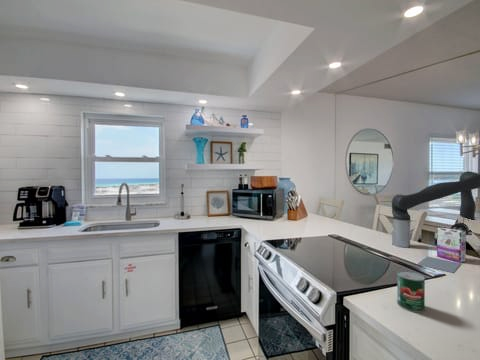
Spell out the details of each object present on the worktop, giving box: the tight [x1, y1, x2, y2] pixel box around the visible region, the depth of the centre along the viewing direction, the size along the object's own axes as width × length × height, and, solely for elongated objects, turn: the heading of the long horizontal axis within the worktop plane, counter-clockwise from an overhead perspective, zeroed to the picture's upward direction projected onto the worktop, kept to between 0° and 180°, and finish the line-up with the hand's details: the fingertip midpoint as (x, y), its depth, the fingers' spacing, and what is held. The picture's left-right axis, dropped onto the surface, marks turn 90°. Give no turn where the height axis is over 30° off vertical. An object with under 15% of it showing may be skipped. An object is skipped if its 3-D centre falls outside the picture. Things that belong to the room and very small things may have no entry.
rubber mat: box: [417, 256, 462, 274], centre depth 123 cm, size 14×18×1 cm
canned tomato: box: [396, 270, 426, 313], centre depth 83 cm, size 8×8×11 cm
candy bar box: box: [436, 227, 467, 264], centre depth 130 cm, size 11×5×16 cm, turn 21°
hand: (454, 233), depth 135 cm, fingers closed
